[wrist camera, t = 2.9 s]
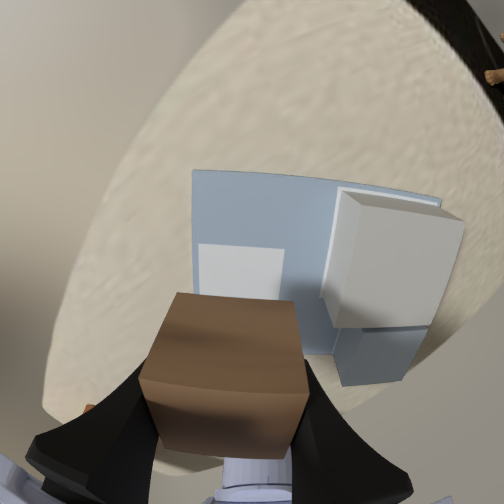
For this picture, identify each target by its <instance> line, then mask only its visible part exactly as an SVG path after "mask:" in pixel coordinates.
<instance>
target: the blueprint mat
mask: <svg viewBox="0 0 504 504" xmlns="http://www.w3.org/2000/svg"><path fill="white" fill-rule="evenodd" d="M341 190H343V191H351V192H358V193H365V194H372V195H379V196H385V197H391V198H397V199H403V200H409V201H415V202H420V203H425V204H430V205H435V206H437V207H439V208H440V205H441V200H442V199H440V198H436V197H431V196H427V195H422V194H417V193H412V192H407V191H401V190H396V189H390V188H384V187H378V186H372V185H366V184H359V183H352V182H345V181H337V180H330V179H321V178H312V177H303V176H293V175H282V174H269V173H255V172H239V171H217V170H192V259H193V286H194V294H200V295H212V296H224V297H237V298H251V299H267V300H285V301H294V306H295V312H296V317H297V322H298V328H299V334H300V339H301V345H302V351H303V354H333V351H334V348H335V345H336V342H337V339H338V336H339V333H340V329H341V328H334V327H333V324H332V321H331V318H330V315H329V312H328V310H327V307H326V304H325V301H324V298H323V296H322V295H323V290H324V286H325V281H326V276H327V271H328V266H329V261H330V255H331V250H332V244H333V239H334V233H335V227H336V221H337V214H338V208H339V201H340V194H341Z"/></svg>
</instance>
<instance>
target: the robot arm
mask: <svg viewBox="0 0 504 504" xmlns="http://www.w3.org/2000/svg"><path fill="white" fill-rule="evenodd" d="M146 359H147V358H146ZM146 359H145V360H144V361H143V362H142V363H141V364H140V365H139V367H138V368H137V369H136V370H135V371H134V372H133V373H132V374H131V375H130V376H129V377H128V378H127V379H126V380H125V381H124V382H123V383H122V384H121V385H120V386H119V387H118V388H116V389H115V390H114V391H113V392H112V393H111V394H110V395H109V396H107V397H106V398H105V399H104V400H102V401H101V402H100V403H98V404H97V405H96V406H94V407H93V408H91V409H90V410H88V411H87V412H85V413H84V414H82V415H81V416H79V417H77V418H75V419H74V420H72V421H70V422H68V423H66V424H64V425H62V426H60V427H58V428H55V429H53V430H50V431H48V432H45V433H42V434H39V435H36V436H35V438H34V440H33V441H32V444H31V446H30V448H29V450H28V452H27V454H26V456H25V459H26V461H27V462H28V463H29V464H30V465H32V466H33V467H34V468H35V469H36V470H38V471H39V472H40V473H41V474H43V475H44V476H45V480H44V482H42V481H40V480H38V479H37V478H35V477H33V476H32V475H30V474H29V473H28V472H27V471H26V470H24V469H23V468H22V467H20V466H19V465H18V464H16V463H15V462H14V461H12V460H11V459H9V458H8V457H6V456H5V455H4V454H2V453H0V502H1V503H2V504H148V498H149V488H150V479H151V472H152V466H153V460H154V455H155V450H156V445H157V441H158V438H159V433H158V431H157V429H156V426H155V424H154V421H153V418H152V416H151V413H150V411H149V408H148V405H147V402H146V400H145V397H144V394H143V391H142V388H141V385H140V382H139V379H138V377H139V375H140V372H141V370H142V368H143V365H144V363H145V361H146ZM304 362H305V368H306V374H307V381H308V387H309V393H310V394H309V397H308V400H307V402H306V405H305V408H304V411H303V413H302V416H301V419H300V421H299V424H298V426H297V429H296V431H295V434H294V436H293V439H292V441H291V444H290V446H289V448H288V451H287V453H286V455H285V458H284V459H279V460H271V459H241V458H228V457H224V466H223V477H222V487H221V489H216V490H215V497H208V498H207V499H206V500H205V501H204V502H203V503H202V504H398V503H400V502H402V501H403V500H405V499H406V498H408V497H410V496H411V495H412V494H413V492H414V490H413V487H412V483H411V480H410V478H409V476H408V474H407V473H406V472H404V471H403V470H401V469H400V468H398V467H397V466H395V465H393V464H392V463H390V462H389V461H388V460H386V459H385V458H384V457H382V456H381V455H380V454H378V453H377V452H376V451H375V450H374V449H373V448H371V447H370V446H369V445H368V444H367V443H366V442H365V441H364V440H363V439H362V438H360V437H359V435H358V434H357V433H356V432H355V431H354V430H353V429H352V428H351V427H350V426H349V425H348V423H347V422H346V421H345V420H344V419H343V417H342V416H341V415H340V414H339V412H338V411H337V409H336V408H335V407H334V405H333V404H332V402H331V401H330V400H329V398H328V396H327V395H326V393H325V392H324V390H323V389H322V387H321V385H320V384H319V382H318V380H317V378H316V376H315V375H314V373H313V371H312V369H311V367H310V365H309V363H308V361H307V360H306V359H304ZM432 504H453V500H452V498H451V496H447V497H445V498H443V499H441V500H439V501H437V502H434V503H432Z"/></svg>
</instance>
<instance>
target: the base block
mask: <svg viewBox="0 0 504 504" xmlns="http://www.w3.org/2000/svg"><path fill="white" fill-rule="evenodd" d="M465 224H466V222H465V221H463V220H462V219H460V218H458V217H456V216H454V215H452V214H451V213H449V212H447V211H445V210H443V209H441V208H439V207H437V206H435V205H430V204H425V203H420V202H415V201H409V200H403V199H397V198H391V197H385V196H379V195H372V194H365V193H358V192H351V191H343V190H341V194H340V201H339V208H338V214H337V221H336V227H335V233H334V239H333V244H332V250H331V255H330V261H329V266H328V271H327V276H326V281H325V286H324V290H323V295H322V296H323V298H324V301H325V304H326V307H327V310H328V312H329V315H330V318H331V321H332V324H333V327H334V328H381V327H404V326H421V325H431V323H432V320H433V318H434V316H435V313H436V311H437V309H438V306H439V304H440V301H441V299H442V296H443V294H444V291H445V289H446V286H447V283H448V280H449V278H450V275H451V272H452V269H453V266H454V263H455V260H456V257H457V253H458V250H459V247H460V243H461V240H462V236H463V232H464V228H465Z"/></svg>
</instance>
